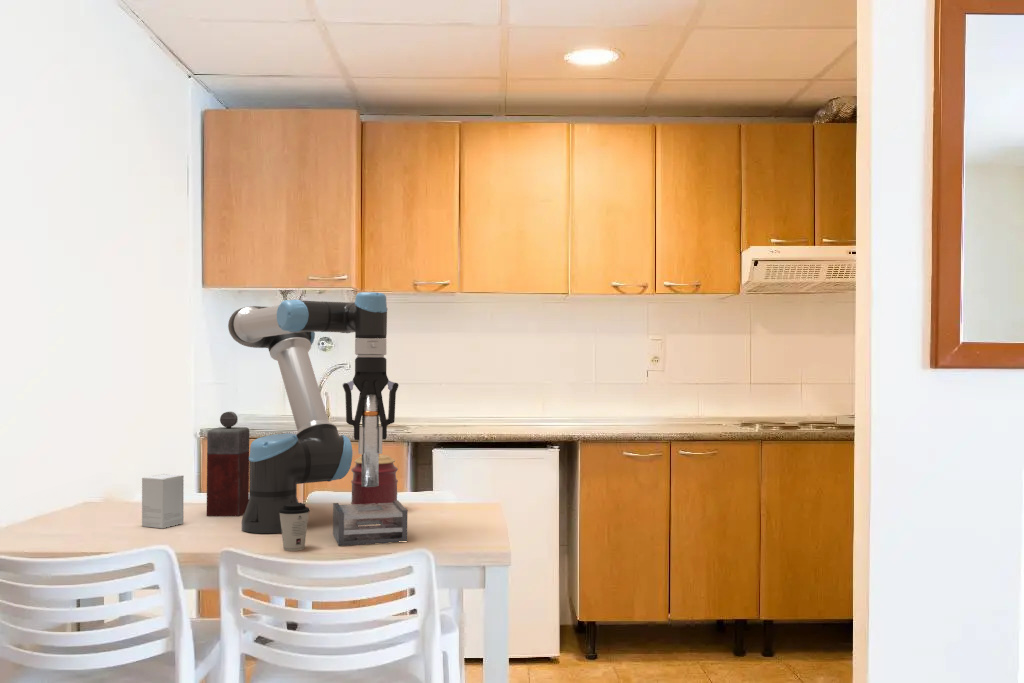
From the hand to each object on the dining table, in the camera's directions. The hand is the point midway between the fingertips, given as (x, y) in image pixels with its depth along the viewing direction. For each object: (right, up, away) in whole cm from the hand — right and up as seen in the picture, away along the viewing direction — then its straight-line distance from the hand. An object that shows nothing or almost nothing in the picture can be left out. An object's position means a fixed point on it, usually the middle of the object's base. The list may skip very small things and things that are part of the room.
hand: (370, 453), depth 212 cm
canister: (-4, -21, +35) cm, 41 cm away
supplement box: (-55, -20, +14) cm, 61 cm away
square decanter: (-44, -21, +32) cm, 58 cm away
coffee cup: (-15, -20, -12) cm, 28 cm away
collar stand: (0, -20, 0) cm, 20 cm away
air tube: (0, -8, 0) cm, 8 cm away
